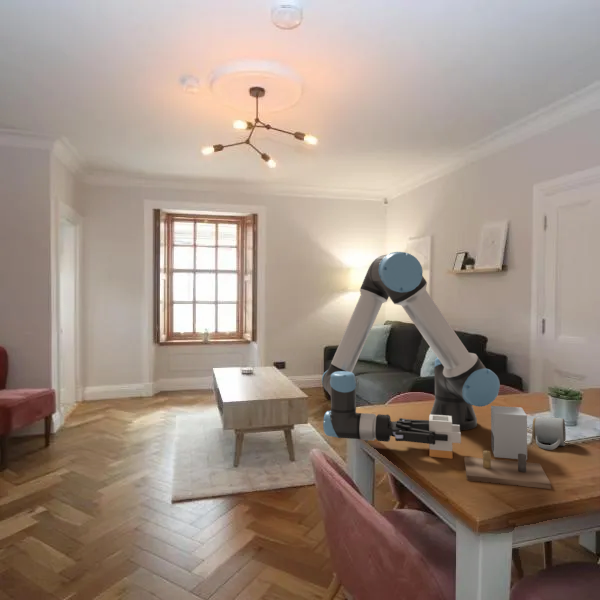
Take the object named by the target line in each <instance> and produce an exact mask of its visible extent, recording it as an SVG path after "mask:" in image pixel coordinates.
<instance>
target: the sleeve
mask: <svg viewBox="0 0 600 600" xmlns="http://www.w3.org/2000/svg"><path fill="white" fill-rule="evenodd" d="M428 416H429V417H428V420H429V431H432V432H435V431H448V432H452V416H445V415H430V414H429V415H428ZM435 434H436V432H435ZM428 446H429V457H431V458H433V457H434V458H440V459H441V458H442V459H453V443H451V442H439V441H436V440H435V445H432V444H428Z"/></svg>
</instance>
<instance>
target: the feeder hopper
mask: <svg viewBox="0 0 600 600" xmlns="http://www.w3.org/2000/svg"><path fill="white" fill-rule="evenodd" d="M490 422H491V423H490V424H491V425H490V427H491V428H490V432H491V434H490V435H491V436H490V438H491V440H490V441H491V445H490V446H491V450H492V453H493V457H494V458H501V459H512V460H518V454H520V453H521V454H525V455H526V461H527V460H528V415H527V413H526V412H525V411H524V409H523V407H520V406H519V407H517V406H504V405H503V406H501V405H491V406H490Z"/></svg>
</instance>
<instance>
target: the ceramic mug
mask: <svg viewBox="0 0 600 600" xmlns="http://www.w3.org/2000/svg"><path fill="white" fill-rule="evenodd" d="M531 426H532V429H531V430H532V438H533V440H534V441H535V443H536V445H537V446H538V448H540V449H543V450H548V451H552V450H555V449H557V448H558V447H565V446H566V441H565V440H566V438H567V437H566V436H567V434H566V422H565V419H564V418H559V417H544V416H538V417H534V418H533V420H532V425H531ZM564 441H565V442H564ZM543 443H544V444H543ZM549 444H550V445H549Z"/></svg>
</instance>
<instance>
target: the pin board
mask: <svg viewBox="0 0 600 600" xmlns="http://www.w3.org/2000/svg"><path fill="white" fill-rule="evenodd" d="M491 453H492V452H491V451H490V450H483V451H482V457H472V456H463V457H464V460H463V461H464V467H465V474H466V480H467V481H473V482H480V481H481V482H482V483H489V482H491V483H492V484H499V483H500V484H499V485H510V486H517V485H518V487H519V486H520V487H528V488H537V489H546V490H547V489H548V490H551V489H552V483H551V481H550V479H549V477H548V476H547V475H546V473H545V470H544V469H543V467H542V465H541V463H537V462H528V461H527V460H526V455H525V454H521V453H520V454H518V459H517V460H515V461H514V460H505V459H504V460H503V459H494V458H492V455H491ZM481 482H480V483H481Z"/></svg>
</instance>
